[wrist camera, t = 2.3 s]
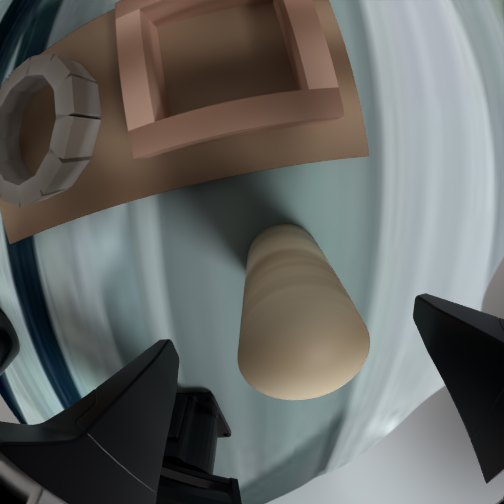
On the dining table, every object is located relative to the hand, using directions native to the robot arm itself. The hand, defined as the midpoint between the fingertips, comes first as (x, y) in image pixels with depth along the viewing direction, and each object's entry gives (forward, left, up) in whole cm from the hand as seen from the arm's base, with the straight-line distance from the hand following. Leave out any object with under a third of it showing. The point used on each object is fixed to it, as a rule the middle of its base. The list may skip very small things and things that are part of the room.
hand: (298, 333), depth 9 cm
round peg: (0, 0, -7) cm, 7 cm away
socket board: (+11, +7, -7) cm, 15 cm away
